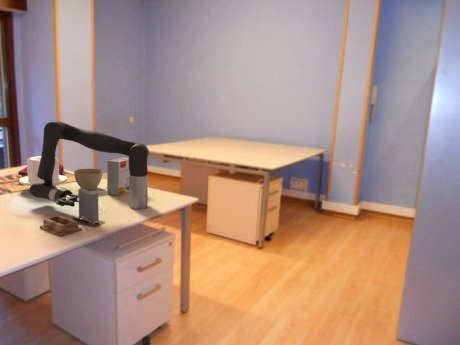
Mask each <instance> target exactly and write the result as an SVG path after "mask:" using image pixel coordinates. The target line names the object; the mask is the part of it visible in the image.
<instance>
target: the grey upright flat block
mask: <svg viewBox="0 0 460 345" xmlns="http://www.w3.org/2000/svg"><path fill="white" fill-rule="evenodd" d="M77 195H79V198H78V201H79V202H78V219H79V218H82V216H84V217H86V218H87V219H88V220H90V221H91V222H92V223H94V222H95V221H99V193H98V192H95V191H92V190H82V189H80V190H78V191H77Z"/></svg>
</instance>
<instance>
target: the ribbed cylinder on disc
mask: <svg viewBox="0 0 460 345" xmlns="http://www.w3.org/2000/svg"><path fill="white" fill-rule="evenodd" d="M41 156H42V155H38V156H31V157H28V158H27V159H26V167H27V173H28V176H26V177H22V176H21V178H19V180H18V183H19V184H20V185H24V186H29V187H31V185H32V184H34V183H44V180H43V179H40V178H38V177H37V173H38V169H39V165H40V160H41ZM59 162H60V160H59V158H58V157H57V156H55V167H54V172H53V176H52V182H53V186H54V187H57V186H56V185H61V184H65V183H67V181H68V177H67V176H66V175H63V174H62V175H59Z"/></svg>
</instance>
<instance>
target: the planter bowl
mask: <svg viewBox="0 0 460 345" xmlns="http://www.w3.org/2000/svg"><path fill="white" fill-rule="evenodd" d="M103 172H104V171H103V169H100V168H91V167H90V168H89V167H88V168H80V169H76V170H74V171H73V174H74V179H75V182H76V184H77V185H78V186H79V188H80V190H88V191H93V190H97V189H98V186H99V185H100V183H101V181H102V179H103V178H102V177H103Z"/></svg>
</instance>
